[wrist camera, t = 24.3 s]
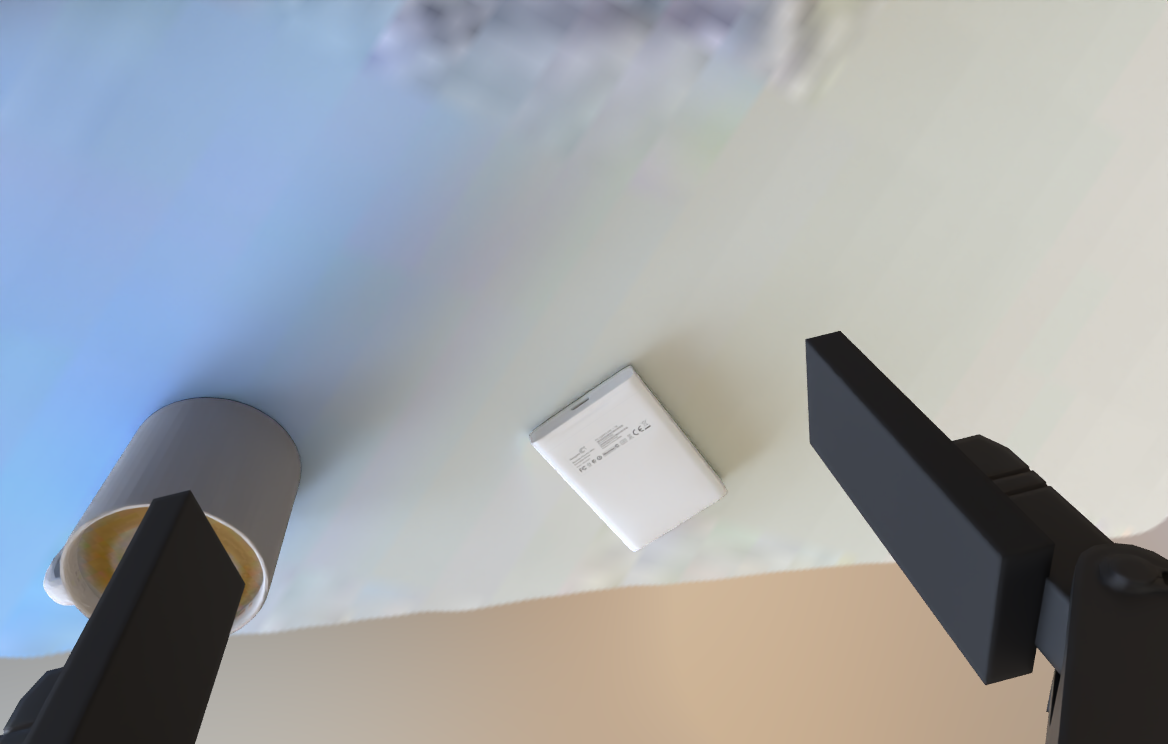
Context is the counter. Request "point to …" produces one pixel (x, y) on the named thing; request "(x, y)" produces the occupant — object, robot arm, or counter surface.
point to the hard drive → (628, 460)
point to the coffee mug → (218, 482)
